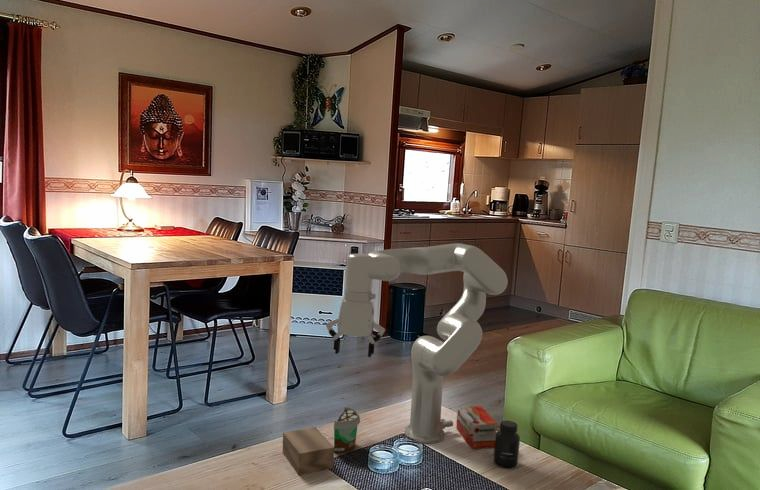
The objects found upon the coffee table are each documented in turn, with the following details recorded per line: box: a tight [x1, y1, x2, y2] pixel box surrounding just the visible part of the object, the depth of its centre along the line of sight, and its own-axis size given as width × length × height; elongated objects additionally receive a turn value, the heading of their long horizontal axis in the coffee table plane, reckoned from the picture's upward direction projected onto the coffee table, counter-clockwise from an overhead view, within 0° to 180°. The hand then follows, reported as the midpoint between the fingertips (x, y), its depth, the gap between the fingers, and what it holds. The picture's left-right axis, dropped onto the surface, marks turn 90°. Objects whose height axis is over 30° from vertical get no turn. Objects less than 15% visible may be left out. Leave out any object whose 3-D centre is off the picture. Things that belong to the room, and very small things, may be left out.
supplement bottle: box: [493, 420, 521, 470], centre depth 164 cm, size 7×7×12 cm
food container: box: [333, 406, 361, 454], centre depth 169 cm, size 12×6×10 cm, turn 168°
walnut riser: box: [282, 426, 335, 476], centre depth 160 cm, size 10×14×6 cm
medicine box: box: [456, 405, 498, 450], centre depth 180 cm, size 15×8×8 cm, turn 11°
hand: (353, 354), depth 166 cm, fingers open, 9 cm apart
